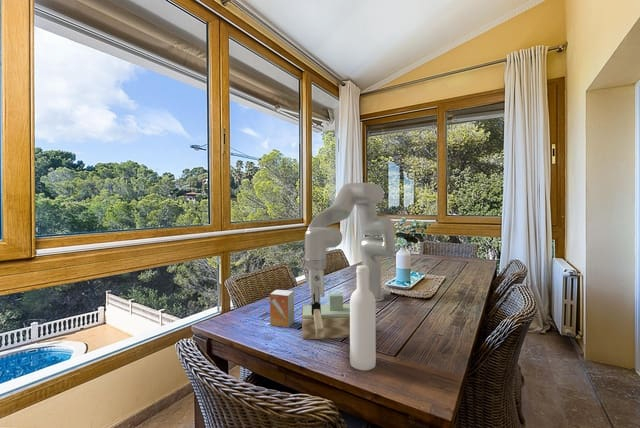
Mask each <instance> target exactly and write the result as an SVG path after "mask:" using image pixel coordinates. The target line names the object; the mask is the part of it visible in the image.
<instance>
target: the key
mask: <svg viewBox="0 0 640 428" xmlns="http://www.w3.org/2000/svg"><path fill="white" fill-rule="evenodd" d="M314 322H315V329H316V335H317V339H318V338H322V339H325V338H324V328H323V324H322V319H321V314H320V309H314ZM317 339H316V340H317ZM318 340H319V339H318Z"/></svg>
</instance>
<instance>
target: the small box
mask: <svg viewBox="0 0 640 428" xmlns="http://www.w3.org/2000/svg"><path fill="white" fill-rule="evenodd" d="M269 311H270V313H269V320H270V323H269V325H270V326H274V327H275V326H276V327H283V328H287V329H288V328H290V327H291V326H292V325H293V323H294V322H295V291H294V290H289V289H287V290H286V289H275V290H273V291H272V292H271V293H269Z"/></svg>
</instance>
